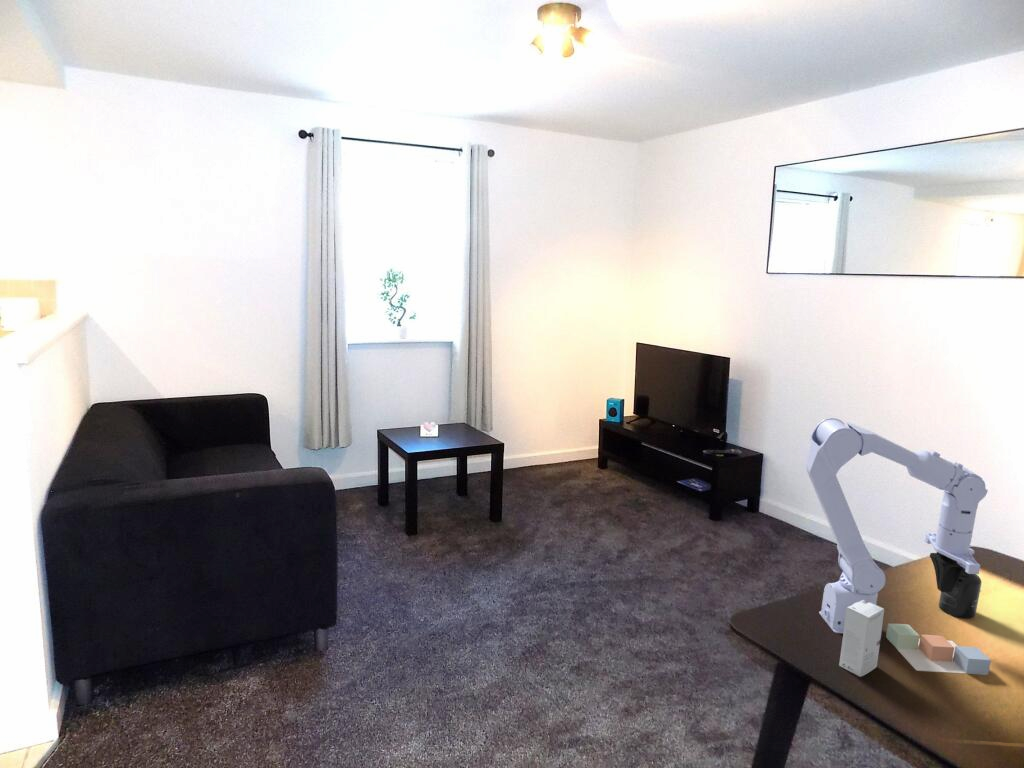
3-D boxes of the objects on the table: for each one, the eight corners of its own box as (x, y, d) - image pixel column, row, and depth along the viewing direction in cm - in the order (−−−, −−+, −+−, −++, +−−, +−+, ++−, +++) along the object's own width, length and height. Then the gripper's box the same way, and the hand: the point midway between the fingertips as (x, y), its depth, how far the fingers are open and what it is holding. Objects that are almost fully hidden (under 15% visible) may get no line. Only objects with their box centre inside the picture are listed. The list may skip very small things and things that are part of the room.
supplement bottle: (981, 622, 140) (991, 570, 138) (945, 618, 142) (955, 566, 139) (966, 606, 147) (975, 556, 145) (932, 602, 148) (941, 552, 146)
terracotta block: (930, 660, 125) (932, 646, 125) (918, 648, 129) (920, 634, 129) (951, 661, 125) (954, 647, 124) (939, 649, 129) (941, 635, 128)
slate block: (966, 673, 122) (968, 658, 121) (952, 660, 126) (955, 646, 125) (988, 674, 121) (991, 659, 121) (974, 661, 125) (976, 647, 125)
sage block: (896, 648, 129) (898, 634, 128) (886, 636, 133) (888, 623, 132) (917, 649, 129) (919, 635, 128) (906, 637, 133) (908, 624, 132)
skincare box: (860, 679, 119) (870, 618, 117) (837, 666, 123) (845, 607, 121) (877, 668, 123) (887, 608, 121) (854, 656, 126) (862, 598, 124)
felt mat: (916, 672, 122) (916, 670, 122) (885, 638, 133) (886, 636, 133) (987, 676, 122) (988, 674, 121) (951, 642, 132) (951, 640, 132)
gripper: (1001, 544, 123) (988, 610, 126) (953, 514, 137) (943, 574, 140) (962, 542, 123) (950, 608, 126) (919, 512, 138) (909, 572, 140)
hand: (944, 590), depth 133 cm, fingers closed
